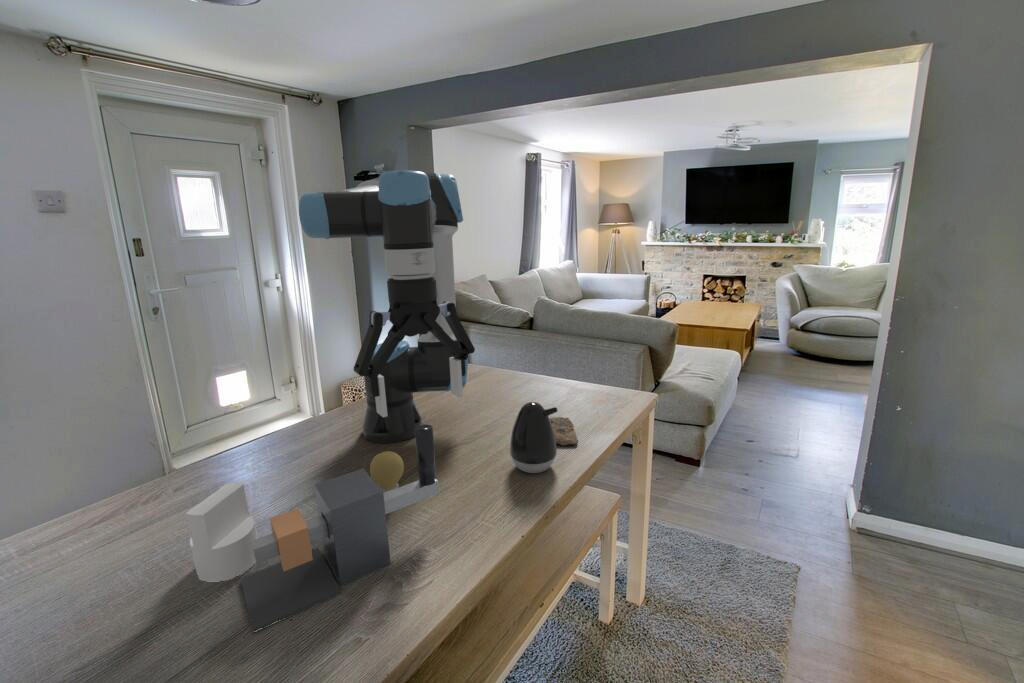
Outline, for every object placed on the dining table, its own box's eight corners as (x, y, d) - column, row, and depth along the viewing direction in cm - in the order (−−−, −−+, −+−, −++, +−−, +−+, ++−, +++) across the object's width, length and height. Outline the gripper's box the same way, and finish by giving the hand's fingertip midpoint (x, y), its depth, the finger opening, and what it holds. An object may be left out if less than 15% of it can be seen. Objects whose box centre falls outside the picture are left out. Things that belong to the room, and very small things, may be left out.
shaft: (253, 554, 70) (239, 478, 67) (432, 486, 86) (427, 423, 83) (256, 565, 68) (242, 487, 65) (440, 493, 84) (435, 428, 81)
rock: (536, 433, 123) (545, 443, 113) (540, 410, 122) (550, 419, 113) (568, 438, 124) (580, 448, 114) (572, 416, 124) (585, 424, 114)
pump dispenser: (554, 481, 100) (554, 413, 96) (506, 477, 102) (503, 410, 98) (560, 457, 109) (559, 395, 105) (515, 454, 111) (513, 393, 107)
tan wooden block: (275, 549, 73) (269, 518, 72) (303, 539, 76) (298, 508, 74) (283, 571, 69) (277, 538, 67) (312, 559, 71) (307, 527, 69)
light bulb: (377, 512, 91) (372, 464, 88) (370, 495, 96) (365, 450, 94) (410, 502, 93) (406, 456, 91) (401, 487, 99) (397, 443, 96)
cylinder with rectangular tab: (233, 586, 73) (219, 517, 70) (183, 580, 75) (167, 512, 72) (272, 547, 82) (260, 484, 79) (225, 542, 83) (213, 480, 80)
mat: (240, 581, 74) (240, 578, 74) (318, 550, 81) (318, 547, 80) (253, 633, 65) (252, 629, 64) (340, 593, 71) (339, 590, 71)
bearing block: (324, 554, 80) (313, 484, 76) (371, 535, 84) (363, 468, 81) (340, 586, 73) (330, 510, 69) (390, 563, 77) (383, 491, 74)
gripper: (337, 286, 65) (354, 431, 70) (491, 271, 79) (496, 393, 84) (322, 281, 71) (338, 416, 76) (467, 268, 85) (473, 382, 90)
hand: (421, 404), depth 80 cm, fingers open, 13 cm apart
